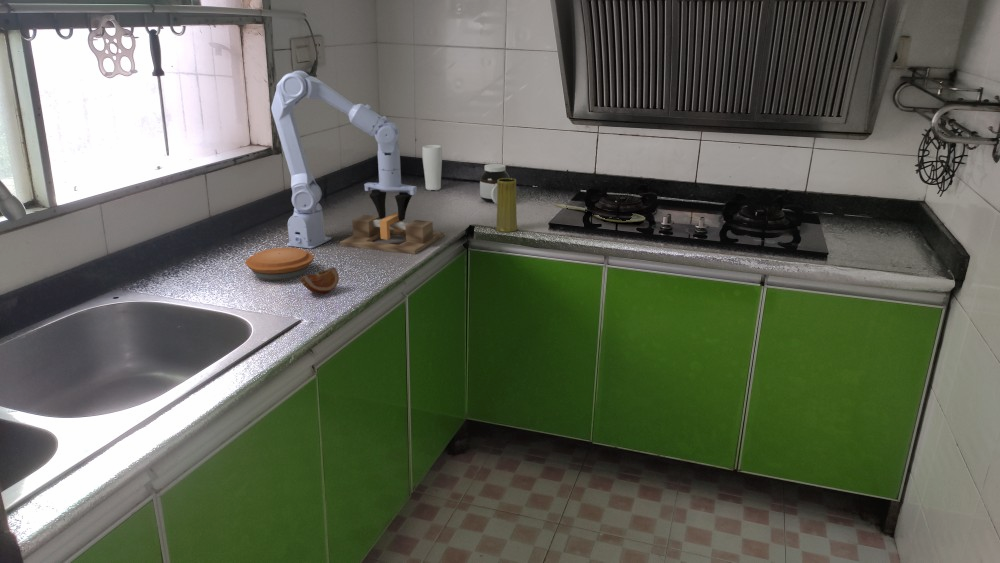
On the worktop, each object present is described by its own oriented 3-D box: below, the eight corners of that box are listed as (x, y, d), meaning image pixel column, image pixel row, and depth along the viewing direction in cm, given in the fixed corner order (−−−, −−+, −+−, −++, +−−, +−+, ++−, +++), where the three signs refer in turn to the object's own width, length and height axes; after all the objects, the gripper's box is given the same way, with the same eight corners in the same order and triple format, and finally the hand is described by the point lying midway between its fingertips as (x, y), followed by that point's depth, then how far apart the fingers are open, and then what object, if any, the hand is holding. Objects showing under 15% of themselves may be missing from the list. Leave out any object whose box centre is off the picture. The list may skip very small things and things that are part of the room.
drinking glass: (421, 191, 257) (419, 147, 252) (426, 186, 263) (424, 144, 258) (440, 191, 256) (439, 148, 251) (444, 187, 262) (443, 145, 257)
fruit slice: (311, 301, 157) (309, 279, 156) (295, 293, 162) (293, 272, 160) (345, 291, 163) (343, 270, 161) (328, 284, 167) (326, 263, 166)
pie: (282, 259, 185) (280, 240, 183) (328, 269, 177) (327, 249, 176) (232, 277, 172) (230, 257, 171) (280, 289, 165) (278, 267, 163)
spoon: (544, 213, 235) (544, 206, 235) (568, 208, 242) (568, 201, 241) (630, 228, 209) (630, 221, 209) (654, 222, 216) (654, 215, 215)
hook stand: (444, 235, 204) (443, 216, 202) (414, 254, 188) (413, 233, 186) (374, 228, 211) (372, 209, 210) (340, 245, 196) (338, 225, 194)
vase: (521, 229, 210) (522, 179, 205) (507, 233, 206) (507, 183, 201) (506, 225, 214) (506, 176, 209) (491, 229, 210) (491, 180, 205)
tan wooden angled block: (387, 239, 195) (386, 221, 193) (380, 238, 195) (379, 220, 194) (403, 230, 203) (402, 213, 201) (396, 230, 203) (395, 212, 202)
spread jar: (494, 196, 249) (494, 162, 245) (522, 201, 243) (522, 165, 239) (472, 203, 240) (472, 167, 236) (501, 208, 234) (501, 171, 230)
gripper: (421, 167, 194) (423, 217, 199) (372, 164, 199) (375, 213, 204) (408, 172, 188) (411, 224, 193) (359, 168, 193) (362, 219, 198)
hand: (392, 219), depth 198 cm, fingers open, 5 cm apart
